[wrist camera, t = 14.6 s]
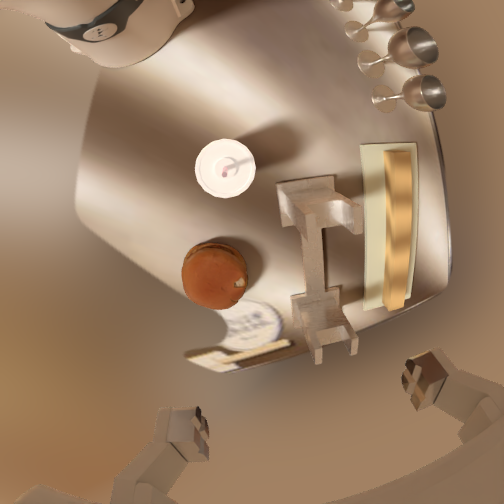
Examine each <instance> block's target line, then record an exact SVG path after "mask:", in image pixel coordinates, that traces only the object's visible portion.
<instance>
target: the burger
mask: <svg viewBox="0 0 504 504" xmlns="http://www.w3.org/2000/svg"><path fill="white" fill-rule="evenodd" d="M246 271H247V267H246V263H245V261H244V259H243V257H242V255H240V253H239V252H238V251H237V250H236V249H234V248H232V247H230V246H229V245H223V244H218V243H206V244H202V245H199V246H198V245H197V246H195V247H193V248H192V249H191V250H190V251H189V252H188V253H187V255H186V257H185V259H184V263H183V267H182V281H183V286H184V290H185V293H186V295H187V296H188V298H189V299H190V300H192V301H193V302H194V303H196V304H198V305H201V306H204V307H207V308H211V309H217V310H222V309H228V308H230V307H232V306H233V305H235V304H236V303H237V302H238V300H239V299H240V298H241V297H242V296H243V294H244V292H245V289H246V286H247V284H248V276H247V273H246Z"/></svg>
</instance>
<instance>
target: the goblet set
mask: <svg viewBox="0 0 504 504" xmlns="http://www.w3.org/2000/svg"><path fill="white" fill-rule="evenodd" d="M330 3H331V4H332V5H333V6H334V7H335V8H336V9H338V10H340V11H345V12H347V11H350V10H352V8H353V2H352V0H330ZM414 10H415V5H414V3H413V1H412V0H378V1H377V2H376V4H375V7H374V13H373V16H372V18H371V19H370V20H369V21H368V22H367V23H366V24H365V25H362V24H361V23H359V22H357V21H349V22H347V23H346V25H345V32H346V34H347V35H348V36H349V37H350V38H351V39H352V40H354V41H356V42H365V41H366V40H367V39H368V31H367V29H366V28H365V27H366V26H368V25H370V24H372V23H374V22H387V23H393V22H398V21H401V20H403V19H405V18H407V17H408V16H409V15H410V14H411V13H412V12H413V11H414ZM438 55H439V52H438V47H437V44H436V42H435V40H434V39H433V37H432V36H431V35H430V34H429V33H428V32H427V31H426V30H424V29H422V28H420V27H417V26H413V27H407V28H403V29H401V30H399V31H397V32H396V33H395V34H394V35H393V36H392V37H391V38H390V40H389V43H388V54H387V55H386V56H385V57H383V58H381V57H380V56H379V55H378V54H376V53H375V52H373V51H369V50H365V51H362V52H361V53H360V54H359V55H358V59H357V62H358V66H359V68H360V70H361V71H362V72H363V73H364V74H365V75H366V76H368V77H370V78H379V77H381V76H382V75H383V73H384V70H385V67H384V63H383V61H385V60H393V61H394V62H396V63H397V64H399V65H401V66H403V67H406V68H412V69H419V68H424V67H427V66H429V65H431V64H433V63H435V62H436V61H437V59H438ZM396 99H404V100H405V102H406V103H407V104H408V105H409V106H411V107H412V108H414V109H416V110H419V111H423V112H432V111H436V110H440V109H442V108H443V107H444V105H445V103H446V91H445V88H444V86H443V84H442V83H441V81H440V80H439V79H438V78H437V77H435V76H433V75H426V74H424V75H423V74H422V75H416V76H413V77H411V78H409V79H408V80H407V81H406V82H405V83H404V85H403V88H402V92H401V93H400V94H398V95H394V93H393V91H392V90H391V89H390V88H389V87H387V86H384V85H379V86H376V87H375V88H374V89H373V91H372V101H373V103H374V105H375V107H376V108H377V109H378V110H380V111H381V112H384V113H389V112H391V111H393V110H394V108H395V106H396Z"/></svg>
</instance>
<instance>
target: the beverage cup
mask: <svg viewBox="0 0 504 504" xmlns="http://www.w3.org/2000/svg"><path fill="white" fill-rule="evenodd" d="M255 169H256V166H255V162H254V157H253V155H252V154H251V152H250V151H249V150H248V148H247V147H246V146H244V145H243V144H241V143H240V142H238V141H236V140H230V139H221V140H217V141H213V142H211V143H210V144H209V145H207V146H206V147H204V148H203V149H202V151H201V152H200V154H199V156H198V157H197V160H196V166H195V173H196V177H197V180H198V182H199V184H200V185H201V186H202V188H203V189H204V190H205V191H206V192H208V193H210V194H211V195H213V196H215V197H222V198H229V197H233V196H238V195H239V194H240V193H242V192H243V191H245V190H246V189H247V188H248V187H249V185H250V184H251V182H252V181H253V179H254V175H255Z"/></svg>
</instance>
